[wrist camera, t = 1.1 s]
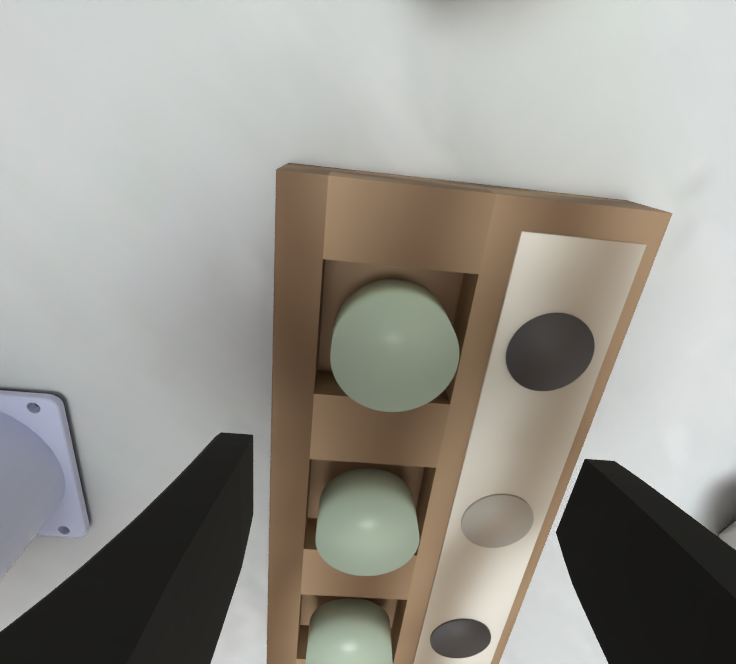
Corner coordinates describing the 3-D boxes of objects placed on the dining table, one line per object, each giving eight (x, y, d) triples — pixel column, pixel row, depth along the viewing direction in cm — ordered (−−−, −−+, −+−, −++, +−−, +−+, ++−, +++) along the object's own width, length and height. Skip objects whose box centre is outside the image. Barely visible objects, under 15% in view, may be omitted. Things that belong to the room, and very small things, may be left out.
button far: (307, 647, 23) (303, 687, 21) (311, 595, 21) (307, 635, 20) (385, 650, 23) (386, 690, 21) (395, 599, 21) (397, 639, 20)
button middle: (316, 535, 20) (312, 573, 18) (322, 464, 18) (318, 498, 16) (406, 541, 20) (411, 578, 18) (421, 471, 18) (427, 505, 16)
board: (274, 636, 26) (265, 690, 24) (288, 162, 15) (274, 170, 13) (476, 645, 27) (488, 698, 24) (627, 200, 16) (676, 214, 13)
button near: (329, 378, 16) (326, 407, 15) (337, 272, 15) (335, 291, 13) (438, 387, 16) (446, 416, 15) (458, 284, 15) (471, 304, 13)
